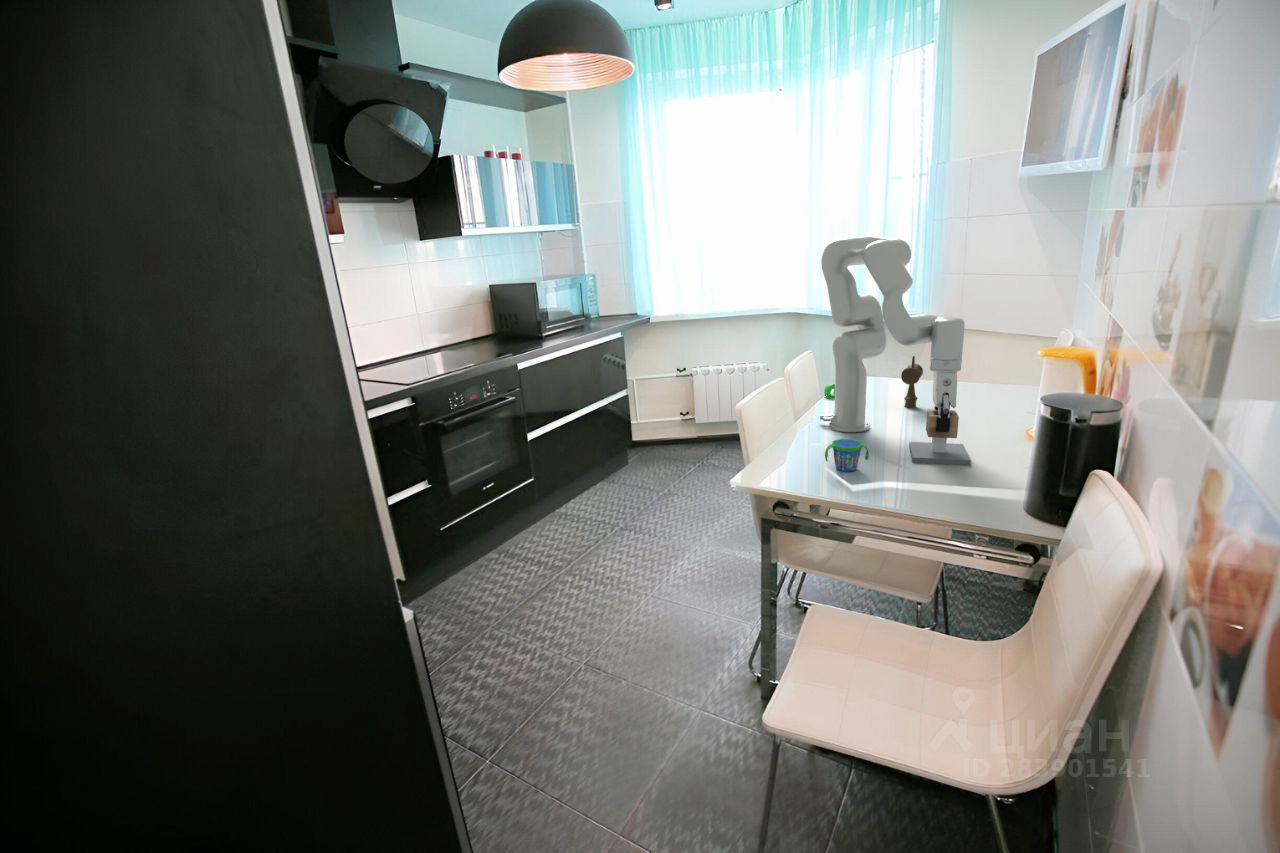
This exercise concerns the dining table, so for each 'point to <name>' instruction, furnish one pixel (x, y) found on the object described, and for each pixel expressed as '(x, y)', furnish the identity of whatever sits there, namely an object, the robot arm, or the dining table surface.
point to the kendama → (911, 382)
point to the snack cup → (846, 454)
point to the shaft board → (939, 452)
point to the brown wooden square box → (931, 425)
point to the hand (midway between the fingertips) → (940, 427)
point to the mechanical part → (829, 391)
